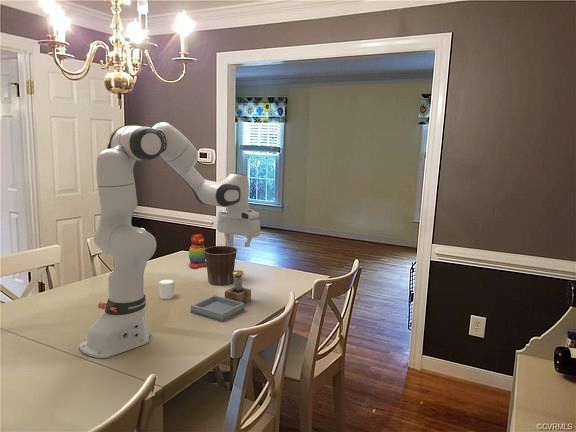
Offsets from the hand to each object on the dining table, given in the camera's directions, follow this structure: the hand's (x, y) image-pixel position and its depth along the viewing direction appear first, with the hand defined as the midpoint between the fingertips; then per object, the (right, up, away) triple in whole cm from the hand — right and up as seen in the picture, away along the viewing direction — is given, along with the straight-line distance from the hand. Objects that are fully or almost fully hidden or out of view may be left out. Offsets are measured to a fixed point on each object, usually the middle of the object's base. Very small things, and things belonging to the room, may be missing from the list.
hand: (238, 245), depth 171 cm
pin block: (-1, -25, +4) cm, 25 cm away
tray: (-7, -26, -7) cm, 28 cm away
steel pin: (-1, -25, +4) cm, 25 cm away
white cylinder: (-32, -23, +8) cm, 40 cm away
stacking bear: (-29, -16, +55) cm, 64 cm away
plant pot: (-12, -20, +29) cm, 38 cm away
